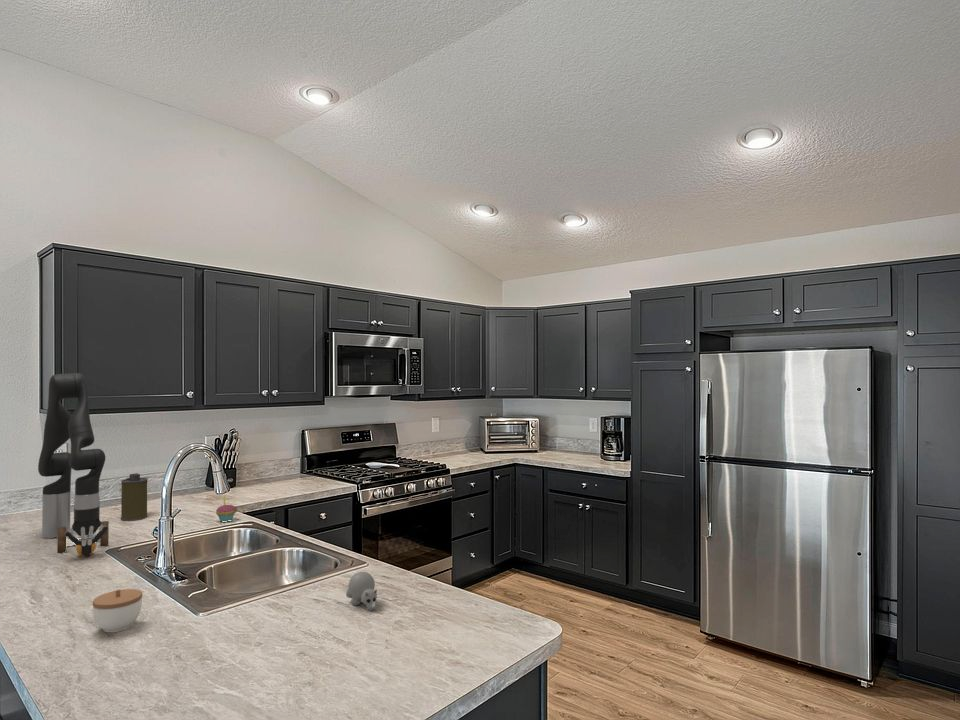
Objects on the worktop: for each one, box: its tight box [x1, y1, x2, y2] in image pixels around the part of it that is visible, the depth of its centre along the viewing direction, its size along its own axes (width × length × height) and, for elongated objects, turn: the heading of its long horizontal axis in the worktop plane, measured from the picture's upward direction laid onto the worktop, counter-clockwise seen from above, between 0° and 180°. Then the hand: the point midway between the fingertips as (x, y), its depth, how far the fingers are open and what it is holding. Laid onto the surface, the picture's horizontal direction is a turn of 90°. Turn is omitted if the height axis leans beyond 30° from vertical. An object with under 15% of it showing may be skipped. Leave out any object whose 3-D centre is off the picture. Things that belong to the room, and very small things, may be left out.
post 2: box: [99, 520, 110, 547], centre depth 220 cm, size 3×3×9 cm
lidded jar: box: [92, 588, 143, 634], centre depth 148 cm, size 11×11×9 cm
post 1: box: [56, 527, 67, 554], centre depth 212 cm, size 3×3×9 cm
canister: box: [120, 472, 148, 522], centre depth 264 cm, size 11×10×20 cm
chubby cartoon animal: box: [345, 571, 378, 612], centre depth 160 cm, size 7×12×8 cm, turn 36°
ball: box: [75, 538, 97, 557], centre depth 208 cm, size 6×6×6 cm
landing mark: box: [76, 534, 100, 543], centre depth 227 cm, size 13×13×1 cm
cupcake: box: [215, 494, 238, 521], centre depth 257 cm, size 9×8×12 cm
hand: (86, 555), depth 205 cm, fingers closed
